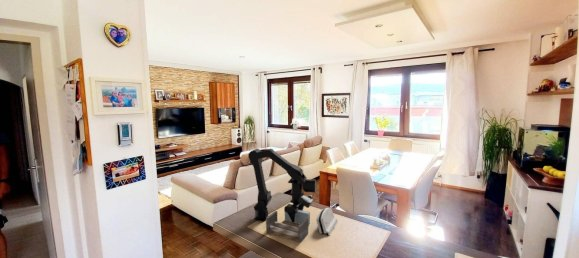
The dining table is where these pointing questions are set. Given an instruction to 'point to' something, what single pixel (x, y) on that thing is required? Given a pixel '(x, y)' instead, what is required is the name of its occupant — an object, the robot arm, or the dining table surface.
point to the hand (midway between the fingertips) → (297, 218)
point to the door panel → (299, 217)
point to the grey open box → (286, 229)
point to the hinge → (326, 221)
